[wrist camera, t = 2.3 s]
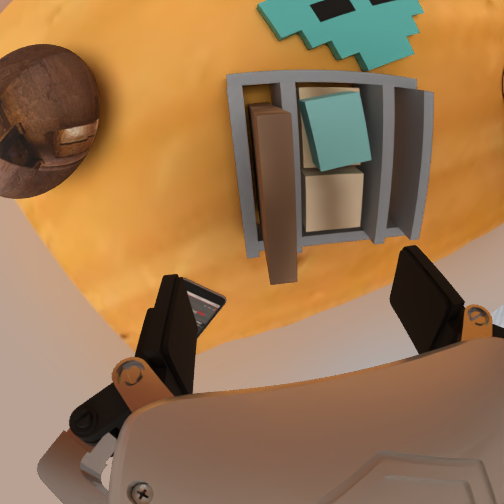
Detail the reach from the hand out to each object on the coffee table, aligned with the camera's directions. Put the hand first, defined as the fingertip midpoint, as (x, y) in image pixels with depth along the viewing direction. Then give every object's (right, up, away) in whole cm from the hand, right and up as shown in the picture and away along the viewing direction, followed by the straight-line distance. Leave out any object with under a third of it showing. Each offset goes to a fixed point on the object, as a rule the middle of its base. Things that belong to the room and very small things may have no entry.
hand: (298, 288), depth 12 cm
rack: (+6, +12, +18) cm, 23 cm away
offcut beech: (+6, +9, +21) cm, 23 cm away
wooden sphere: (-23, +18, +13) cm, 32 cm away
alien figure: (+8, +30, +8) cm, 32 cm away
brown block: (-1, +12, +18) cm, 22 cm away
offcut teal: (+6, +13, +13) cm, 20 cm away
